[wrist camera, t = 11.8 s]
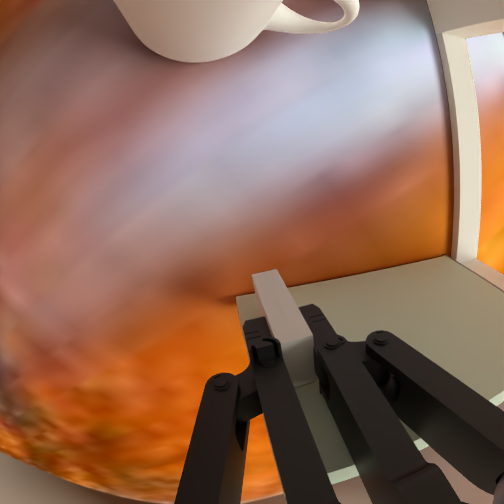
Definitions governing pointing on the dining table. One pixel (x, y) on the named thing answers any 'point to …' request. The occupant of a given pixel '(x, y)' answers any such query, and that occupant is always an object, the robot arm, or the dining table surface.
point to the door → (404, 333)
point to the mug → (217, 24)
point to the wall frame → (465, 117)
